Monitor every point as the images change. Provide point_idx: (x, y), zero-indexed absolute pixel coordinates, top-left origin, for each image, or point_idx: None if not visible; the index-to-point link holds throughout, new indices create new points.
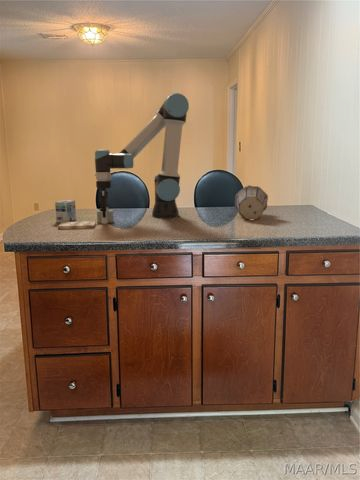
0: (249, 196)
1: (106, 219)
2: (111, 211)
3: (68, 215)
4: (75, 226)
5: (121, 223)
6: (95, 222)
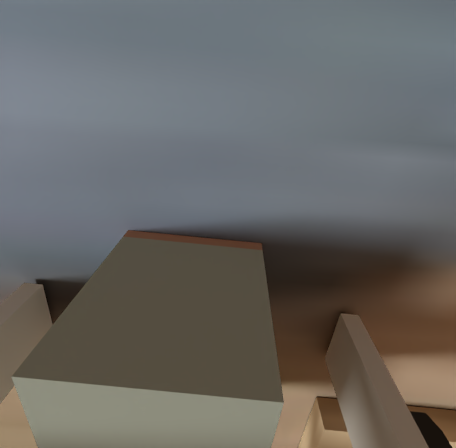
0: None
1: (380, 366)
2: (276, 413)
3: None
4: None
5: (409, 128)
6: None
